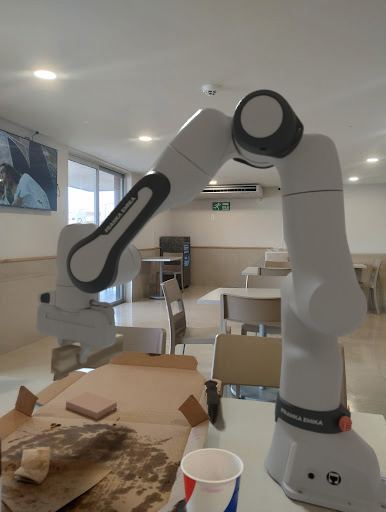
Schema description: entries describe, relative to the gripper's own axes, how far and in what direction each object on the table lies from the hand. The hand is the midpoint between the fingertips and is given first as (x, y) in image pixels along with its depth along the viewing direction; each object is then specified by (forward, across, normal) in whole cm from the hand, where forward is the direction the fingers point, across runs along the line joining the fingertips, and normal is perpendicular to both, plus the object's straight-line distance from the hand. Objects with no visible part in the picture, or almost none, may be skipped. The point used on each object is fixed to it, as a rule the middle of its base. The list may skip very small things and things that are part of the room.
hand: (74, 360), depth 81 cm
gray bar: (+2, 0, -5) cm, 5 cm away
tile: (+14, -2, -9) cm, 17 cm away
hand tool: (+16, -22, -28) cm, 39 cm away
